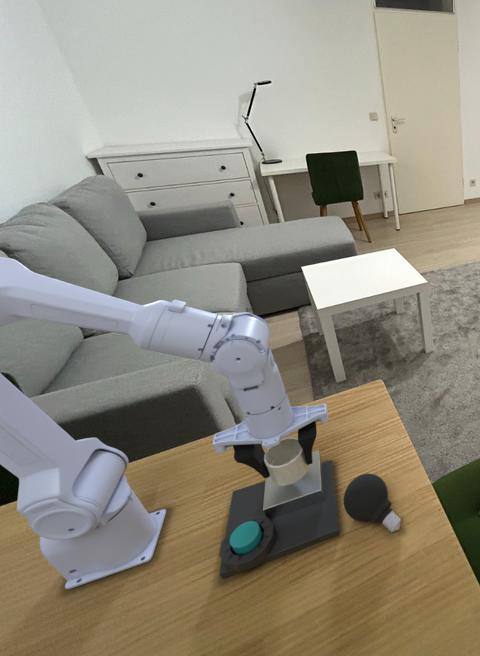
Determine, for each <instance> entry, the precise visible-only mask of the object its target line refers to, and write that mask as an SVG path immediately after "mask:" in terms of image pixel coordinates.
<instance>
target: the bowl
mask: <svg viewBox="0 0 480 656" xmlns="http://www.w3.org/2000/svg"><path fill="white" fill-rule="evenodd" d="M266 449H267V450H266V451H265V454H264V463H265V465H266V468H267V470H268V472H269V475H270V477H271V479H272V481H273V483H275V484H277V485H279V486H286V485H290V484H293V483H295V482H297V481H298V480H300V479H301V478H302V477H303V476H304V475H305V474H306V473H307V471H308V468H309V465H307V463H306V459H305V455H304V452H303V449H302V447H301V446H300V444H299V443H298V437H295V436H293V437H284V438H281V441H280V443H279V444H278V445H277V446H273V447H270V448H266Z"/></svg>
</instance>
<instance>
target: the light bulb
mask: <svg viewBox="0 0 480 656" xmlns="http://www.w3.org/2000/svg"><path fill="white" fill-rule="evenodd" d="M391 505H392V501H391V500H389V491H388V486H387V484H386V482H385V481H384V480H383V478H381V476H379V475H377V474H375V473H363V474H360V475H358V476H356V477H355V478H353V479H352V480H351V481H350V482H349V484H348V485H347V487H346V489H345V492H344V493H343V506H344V510H345V512H346V513H347V515H348V516H349V517H350V518H351V519H353V520H354V521H357V522H372V524H377V523H378V522H379V523H380V524H382V525H383V526H384V527H385V528H386V529H387V530H388V531H389V532H390V533H391V534H392V533H395V532H396V531H398V530H400V527H401V524H402V523H401V522H402V518H400V517H399V516H398V515H397V513H395V512H394V510H392V508H391Z"/></svg>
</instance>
